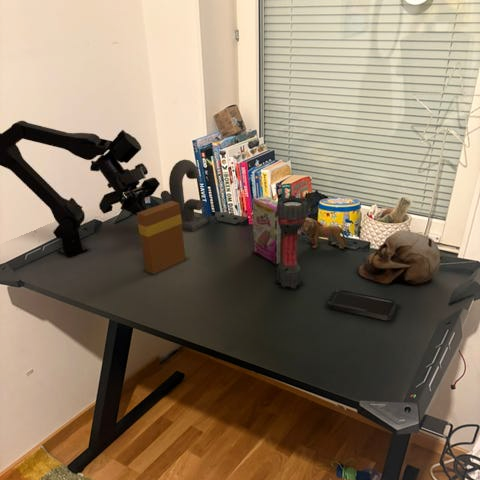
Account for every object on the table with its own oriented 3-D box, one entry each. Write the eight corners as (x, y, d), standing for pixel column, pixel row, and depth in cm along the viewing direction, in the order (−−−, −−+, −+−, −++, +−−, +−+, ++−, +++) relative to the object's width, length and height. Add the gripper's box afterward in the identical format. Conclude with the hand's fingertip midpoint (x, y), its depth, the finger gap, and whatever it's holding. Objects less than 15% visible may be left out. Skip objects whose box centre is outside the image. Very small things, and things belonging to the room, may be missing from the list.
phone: (336, 289, 122) (397, 301, 116) (336, 292, 123) (397, 305, 117) (326, 303, 116) (390, 317, 110) (326, 307, 117) (389, 321, 111)
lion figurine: (300, 250, 145) (301, 221, 140) (299, 242, 149) (300, 214, 144) (350, 249, 144) (353, 220, 139) (347, 242, 148) (350, 214, 143)
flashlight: (298, 294, 123) (301, 207, 110) (270, 288, 126) (270, 202, 114) (309, 281, 128) (314, 196, 116) (283, 275, 132) (284, 192, 119)
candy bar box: (252, 252, 145) (251, 198, 136) (265, 247, 147) (265, 194, 138) (275, 265, 137) (275, 209, 128) (289, 260, 139) (290, 205, 130)
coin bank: (353, 268, 133) (364, 222, 126) (408, 265, 138) (421, 220, 130) (381, 297, 121) (395, 248, 113) (441, 293, 125) (457, 245, 118)
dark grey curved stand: (221, 216, 171) (217, 158, 160) (194, 231, 160) (188, 170, 149) (180, 207, 179) (174, 152, 168) (152, 222, 168) (144, 163, 157)
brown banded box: (145, 270, 137) (136, 213, 128) (177, 256, 144) (171, 200, 135) (153, 274, 135) (144, 216, 126) (185, 259, 142) (179, 203, 133)
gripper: (97, 164, 123) (133, 214, 123) (150, 148, 135) (183, 193, 136) (84, 189, 132) (118, 236, 132) (136, 172, 144) (167, 215, 144)
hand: (148, 219), depth 136 cm, fingers closed
